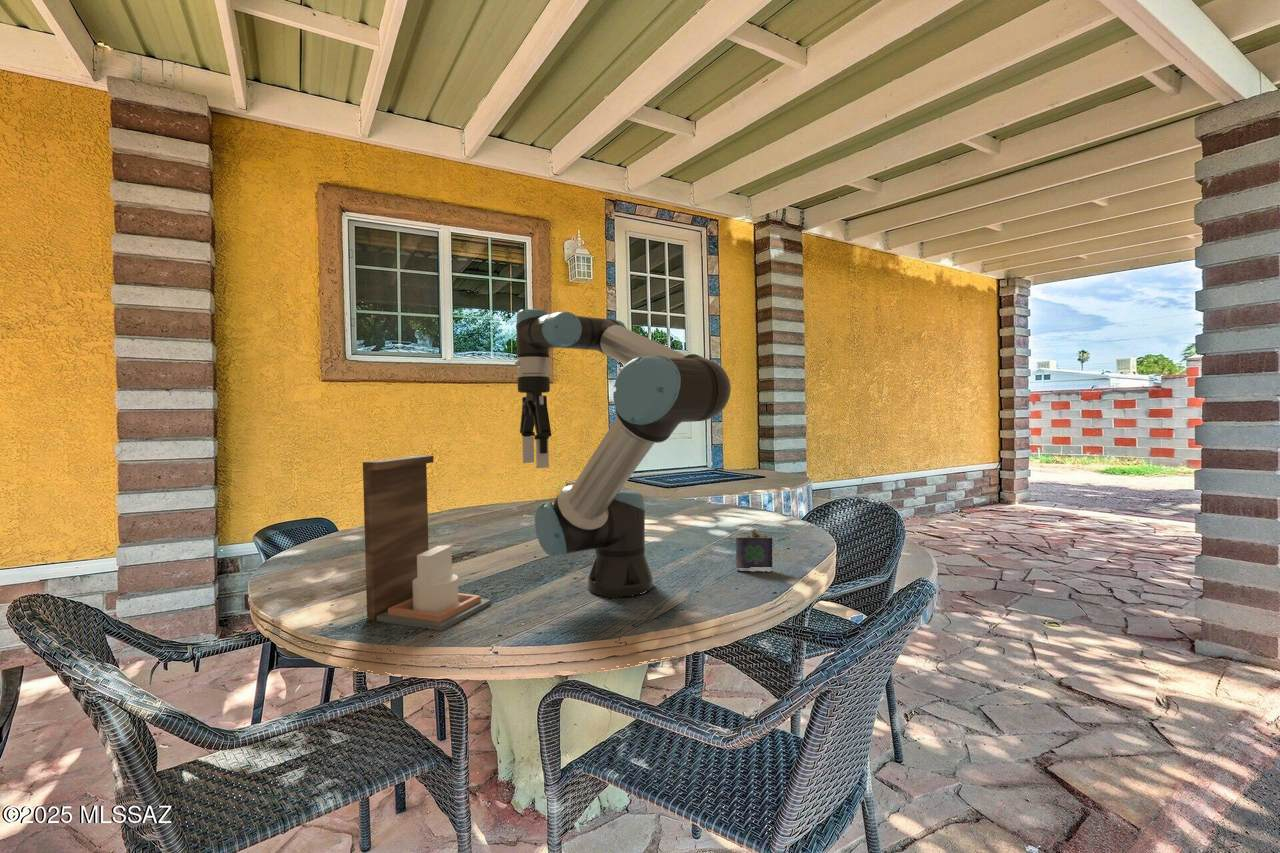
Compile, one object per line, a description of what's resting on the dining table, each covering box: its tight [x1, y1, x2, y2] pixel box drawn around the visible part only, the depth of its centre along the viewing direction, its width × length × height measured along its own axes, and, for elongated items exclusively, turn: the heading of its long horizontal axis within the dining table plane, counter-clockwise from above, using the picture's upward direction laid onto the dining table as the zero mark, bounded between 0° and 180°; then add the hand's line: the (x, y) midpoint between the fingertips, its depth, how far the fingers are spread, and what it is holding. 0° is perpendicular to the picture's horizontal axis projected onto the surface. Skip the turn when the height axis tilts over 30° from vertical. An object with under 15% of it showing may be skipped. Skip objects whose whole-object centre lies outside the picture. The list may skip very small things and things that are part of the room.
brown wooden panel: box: [362, 454, 434, 621], centre depth 126 cm, size 4×16×32 cm, turn 159°
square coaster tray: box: [376, 592, 492, 632], centre depth 123 cm, size 16×16×2 cm
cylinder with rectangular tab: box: [412, 545, 459, 614], centre depth 123 cm, size 9×9×12 cm
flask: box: [735, 528, 773, 568], centre depth 151 cm, size 9×3×11 cm, turn 84°
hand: (535, 465), depth 141 cm, fingers open, 13 cm apart
